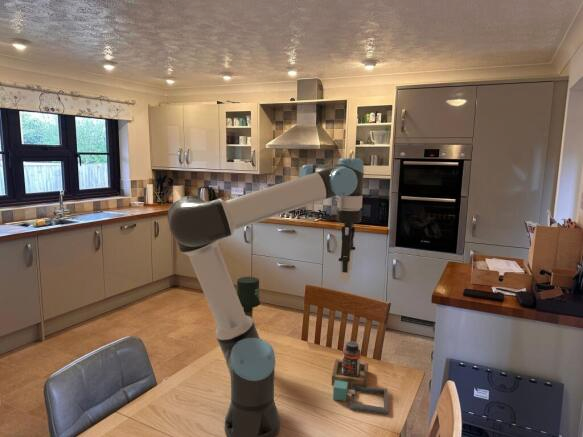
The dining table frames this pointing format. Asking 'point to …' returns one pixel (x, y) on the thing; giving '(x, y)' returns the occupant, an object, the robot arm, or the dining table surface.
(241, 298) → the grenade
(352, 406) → the socket collar
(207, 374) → the dining table surface
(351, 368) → the supplement bottle
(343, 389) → the pin
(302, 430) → the dining table surface
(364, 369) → the open box
